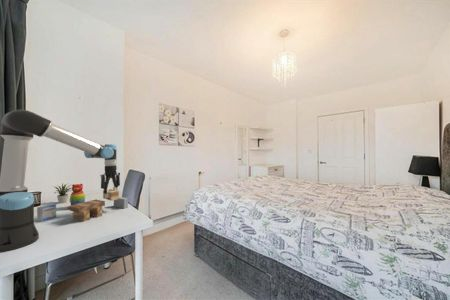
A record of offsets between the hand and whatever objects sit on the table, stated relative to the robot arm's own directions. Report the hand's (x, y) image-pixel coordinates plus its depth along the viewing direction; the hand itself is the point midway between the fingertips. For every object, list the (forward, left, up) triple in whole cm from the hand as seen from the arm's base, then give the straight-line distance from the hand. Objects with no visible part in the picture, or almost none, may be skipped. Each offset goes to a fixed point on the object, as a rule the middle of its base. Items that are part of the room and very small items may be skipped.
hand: (110, 196), depth 138 cm
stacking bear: (-7, +29, -10) cm, 31 cm away
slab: (-16, 0, -4) cm, 16 cm away
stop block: (+8, 0, -10) cm, 13 cm away
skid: (0, 0, -1) cm, 1 cm away
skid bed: (-16, 0, -10) cm, 18 cm away
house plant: (-6, +53, -10) cm, 54 cm away
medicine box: (-29, +20, -10) cm, 36 cm away
